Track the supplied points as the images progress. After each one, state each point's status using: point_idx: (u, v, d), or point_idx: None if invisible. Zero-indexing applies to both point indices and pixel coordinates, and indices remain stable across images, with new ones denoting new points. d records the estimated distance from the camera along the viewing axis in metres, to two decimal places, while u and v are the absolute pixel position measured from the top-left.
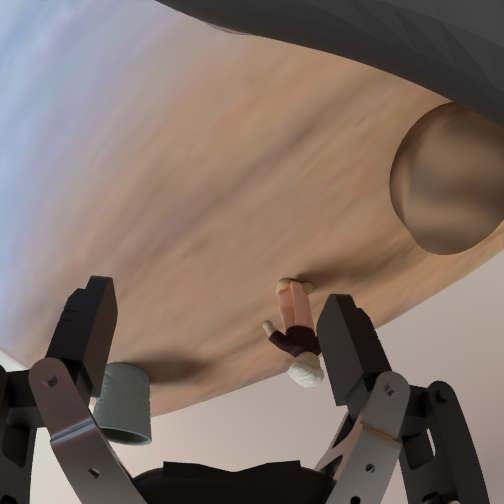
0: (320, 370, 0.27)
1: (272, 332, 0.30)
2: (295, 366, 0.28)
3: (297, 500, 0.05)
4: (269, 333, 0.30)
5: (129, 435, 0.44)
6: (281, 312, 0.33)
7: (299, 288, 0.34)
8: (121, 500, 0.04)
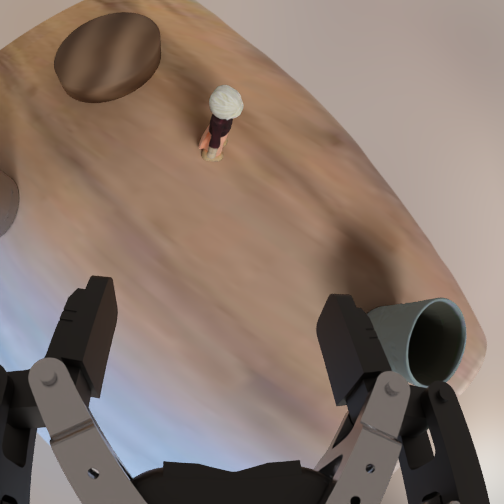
0: None
1: (209, 146, 0.31)
2: (214, 113, 0.27)
3: (297, 500, 0.05)
4: (211, 149, 0.31)
5: (453, 335, 0.31)
6: None
7: None
8: (121, 500, 0.04)
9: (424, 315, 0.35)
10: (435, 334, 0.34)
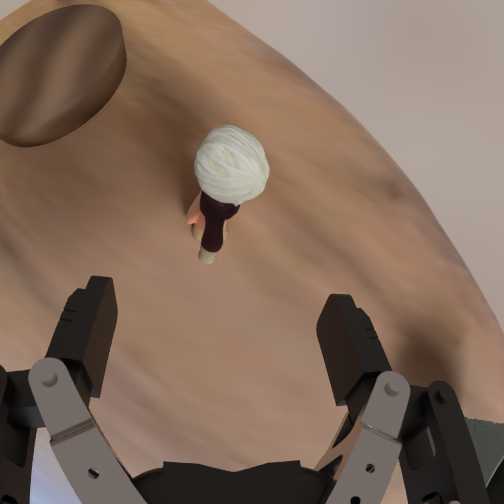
0: None
1: (202, 246, 0.17)
2: None
3: (297, 500, 0.05)
4: (206, 251, 0.17)
5: None
6: None
7: None
8: (121, 500, 0.04)
9: None
10: None
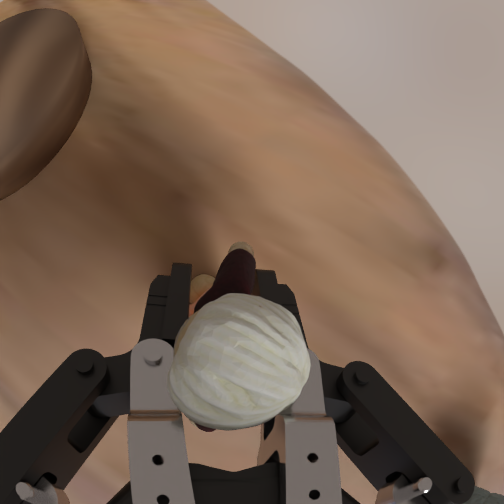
0: None
1: None
2: None
3: None
4: None
5: None
6: None
7: None
8: (172, 493, 0.04)
9: None
10: None
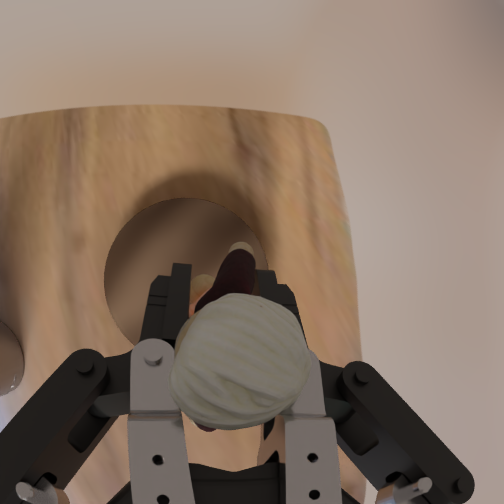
0: None
1: None
2: None
3: None
4: None
5: None
6: None
7: None
8: (172, 493, 0.04)
9: None
10: None
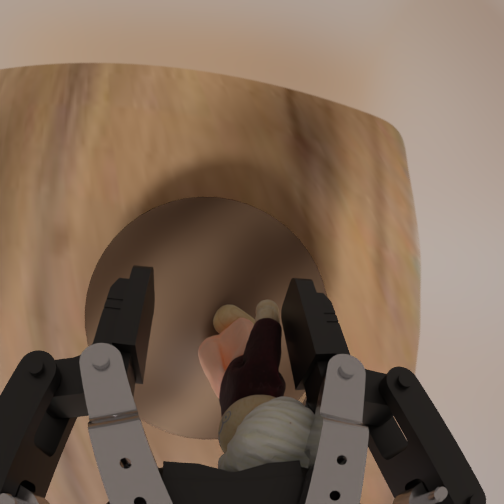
0: (238, 429, 0.07)
1: None
2: None
3: None
4: None
5: None
6: None
7: (201, 350, 0.17)
8: (146, 494, 0.04)
9: None
10: None
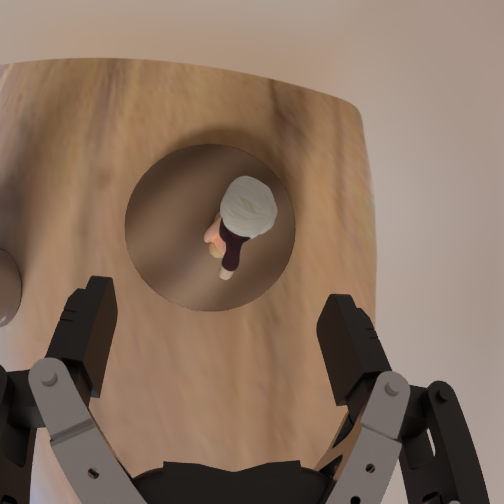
0: None
1: (222, 266, 0.21)
2: (229, 229, 0.18)
3: (297, 500, 0.05)
4: (225, 270, 0.21)
5: None
6: None
7: None
8: (121, 500, 0.04)
9: None
10: None
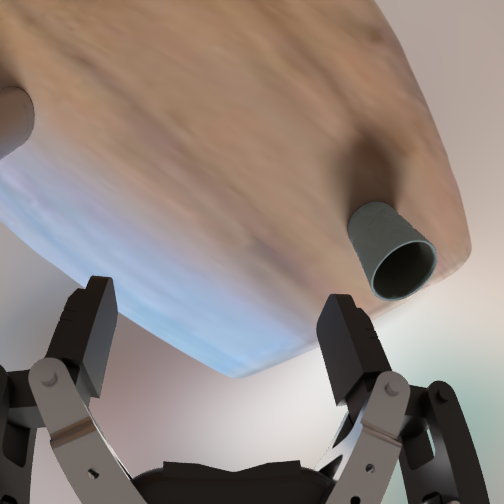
0: None
1: None
2: None
3: (297, 500, 0.05)
4: None
5: (425, 262, 0.39)
6: None
7: None
8: (121, 500, 0.04)
9: None
10: (413, 250, 0.41)
